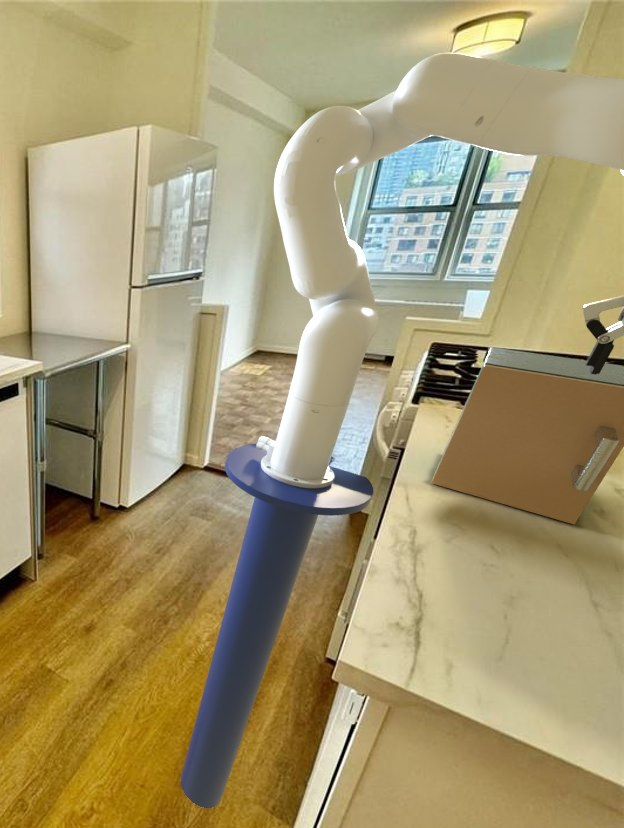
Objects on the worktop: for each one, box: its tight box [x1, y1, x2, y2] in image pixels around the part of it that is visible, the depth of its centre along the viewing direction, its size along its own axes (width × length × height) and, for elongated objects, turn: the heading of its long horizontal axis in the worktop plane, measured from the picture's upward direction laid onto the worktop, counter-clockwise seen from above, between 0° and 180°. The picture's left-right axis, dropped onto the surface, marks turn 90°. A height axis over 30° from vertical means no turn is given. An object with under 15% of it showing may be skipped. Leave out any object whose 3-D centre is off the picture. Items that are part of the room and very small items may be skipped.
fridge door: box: [431, 364, 624, 525], centre depth 74 cm, size 7×18×22 cm, turn 46°
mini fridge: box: [431, 346, 624, 481], centre depth 81 cm, size 14×18×22 cm
